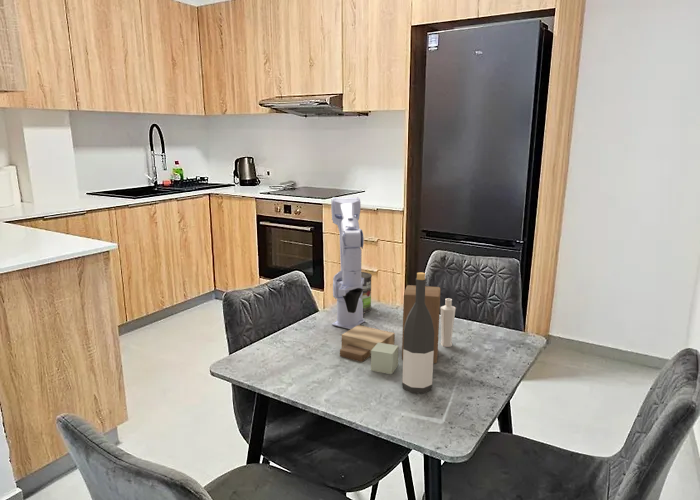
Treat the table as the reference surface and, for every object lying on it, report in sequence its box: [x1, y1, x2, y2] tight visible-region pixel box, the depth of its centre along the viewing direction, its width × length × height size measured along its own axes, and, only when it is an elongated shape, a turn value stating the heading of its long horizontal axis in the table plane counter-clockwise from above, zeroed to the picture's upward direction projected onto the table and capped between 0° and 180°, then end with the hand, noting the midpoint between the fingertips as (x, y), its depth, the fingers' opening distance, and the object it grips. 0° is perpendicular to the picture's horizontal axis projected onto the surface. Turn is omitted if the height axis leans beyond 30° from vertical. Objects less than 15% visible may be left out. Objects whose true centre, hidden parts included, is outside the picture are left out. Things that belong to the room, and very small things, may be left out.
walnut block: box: [339, 344, 371, 363], centre depth 142 cm, size 2×8×5 cm
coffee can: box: [361, 271, 373, 314], centre depth 180 cm, size 10×10×14 cm
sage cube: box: [370, 343, 400, 375], centre depth 134 cm, size 6×6×6 cm
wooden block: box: [401, 284, 441, 364], centre depth 141 cm, size 10×10×20 cm
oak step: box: [341, 324, 396, 350], centre depth 148 cm, size 10×13×4 cm
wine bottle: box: [401, 271, 434, 394], centre depth 121 cm, size 8×8×30 cm
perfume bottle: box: [440, 297, 457, 348], centre depth 149 cm, size 5×4×15 cm
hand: (351, 311), depth 150 cm, fingers closed
